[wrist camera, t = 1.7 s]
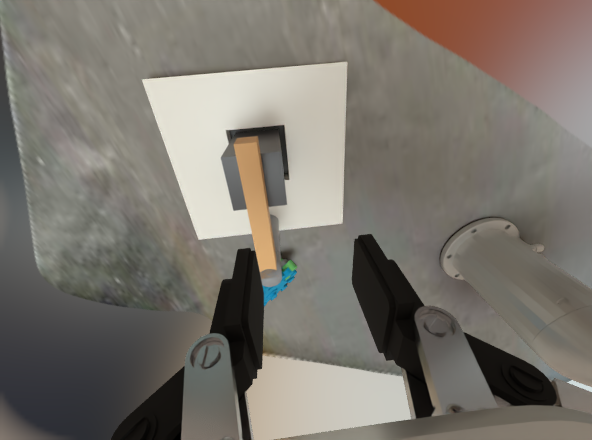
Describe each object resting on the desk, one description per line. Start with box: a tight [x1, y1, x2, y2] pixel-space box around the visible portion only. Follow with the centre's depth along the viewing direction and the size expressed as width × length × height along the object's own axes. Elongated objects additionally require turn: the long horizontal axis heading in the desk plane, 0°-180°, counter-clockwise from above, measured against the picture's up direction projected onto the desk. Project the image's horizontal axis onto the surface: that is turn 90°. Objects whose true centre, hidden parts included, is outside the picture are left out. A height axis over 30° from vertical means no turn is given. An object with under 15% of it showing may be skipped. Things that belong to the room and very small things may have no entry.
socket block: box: [142, 62, 347, 256], centre depth 26 cm, size 20×19×9 cm
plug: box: [221, 129, 287, 211], centre depth 25 cm, size 5×5×10 cm
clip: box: [234, 136, 282, 287], centre depth 22 cm, size 2×14×3 cm, turn 5°
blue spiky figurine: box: [262, 258, 297, 306], centre depth 37 cm, size 11×6×10 cm
